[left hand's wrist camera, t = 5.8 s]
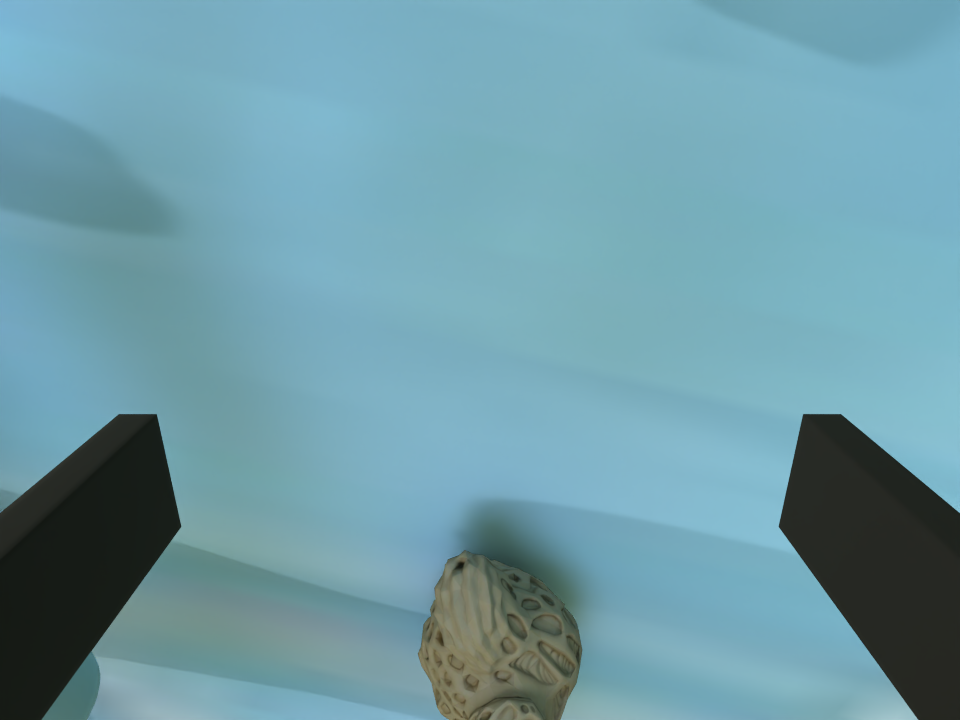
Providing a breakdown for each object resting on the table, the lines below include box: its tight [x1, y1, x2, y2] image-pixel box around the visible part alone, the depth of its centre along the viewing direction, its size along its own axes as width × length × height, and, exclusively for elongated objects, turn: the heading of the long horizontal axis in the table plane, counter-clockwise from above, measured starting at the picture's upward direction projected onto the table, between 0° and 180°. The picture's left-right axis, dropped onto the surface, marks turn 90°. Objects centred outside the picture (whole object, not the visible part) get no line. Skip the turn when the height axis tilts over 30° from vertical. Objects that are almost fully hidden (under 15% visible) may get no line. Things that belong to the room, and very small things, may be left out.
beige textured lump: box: [418, 550, 582, 720], centre depth 43 cm, size 21×12×15 cm, turn 13°
